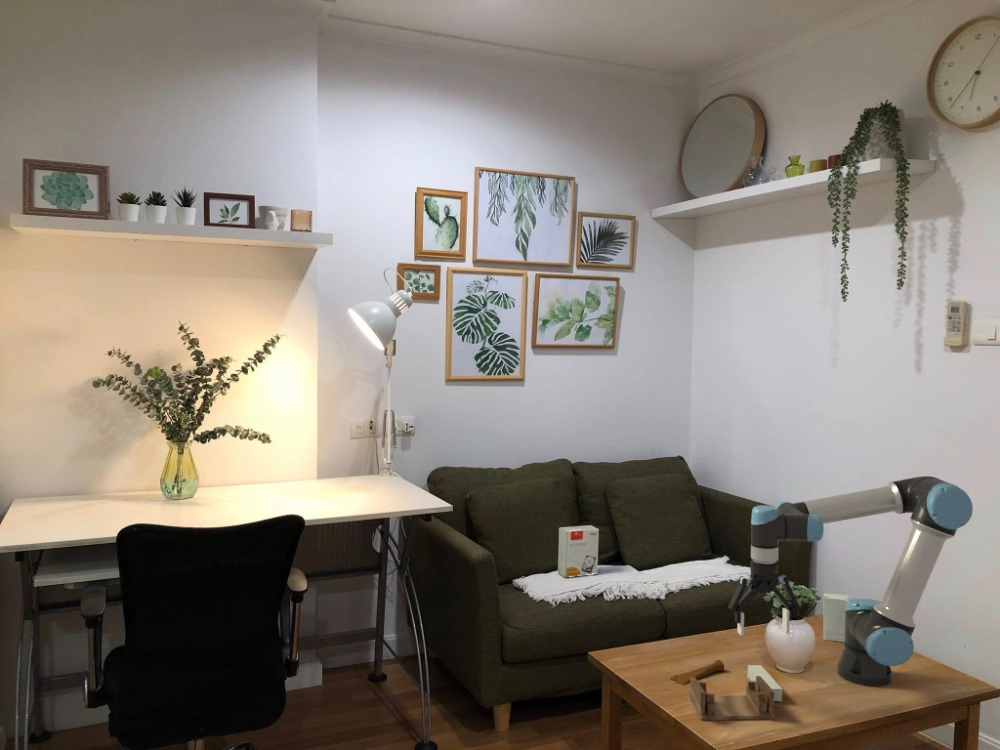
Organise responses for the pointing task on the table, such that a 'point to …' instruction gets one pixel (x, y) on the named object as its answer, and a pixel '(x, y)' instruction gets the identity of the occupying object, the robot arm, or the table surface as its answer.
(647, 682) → the table surface
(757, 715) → the rack
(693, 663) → the table surface
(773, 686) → the strip
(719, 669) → the primitive tool
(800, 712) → the table surface
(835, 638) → the skincare box
